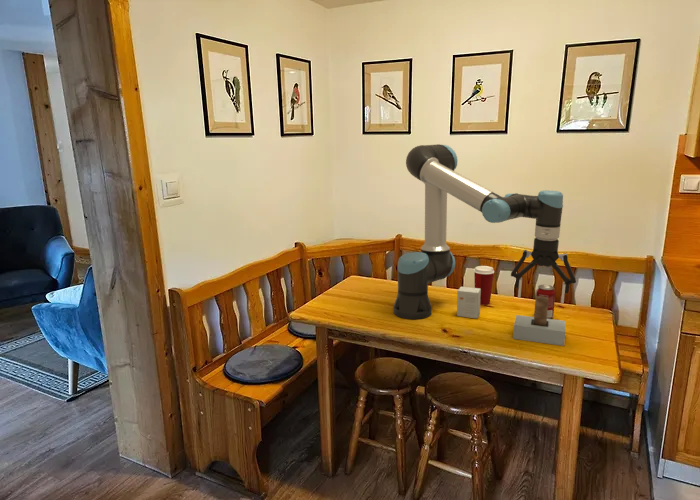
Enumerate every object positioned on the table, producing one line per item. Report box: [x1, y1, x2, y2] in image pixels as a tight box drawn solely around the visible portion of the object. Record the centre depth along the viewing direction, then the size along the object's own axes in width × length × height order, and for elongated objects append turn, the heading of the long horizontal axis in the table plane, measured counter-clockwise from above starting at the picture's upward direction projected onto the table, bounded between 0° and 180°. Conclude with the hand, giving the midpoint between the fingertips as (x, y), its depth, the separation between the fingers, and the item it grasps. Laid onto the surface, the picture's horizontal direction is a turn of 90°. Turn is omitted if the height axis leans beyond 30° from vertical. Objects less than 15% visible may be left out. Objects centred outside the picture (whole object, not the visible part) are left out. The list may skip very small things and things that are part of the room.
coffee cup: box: [472, 265, 495, 306], centre depth 196 cm, size 8×8×15 cm
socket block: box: [512, 314, 566, 347], centre depth 164 cm, size 16×10×5 cm, turn 67°
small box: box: [456, 286, 481, 319], centre depth 184 cm, size 8×6×10 cm
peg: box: [533, 296, 548, 327], centre depth 163 cm, size 4×4×14 cm
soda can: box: [534, 284, 556, 319], centre depth 180 cm, size 7×7×12 cm
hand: (540, 299), depth 162 cm, fingers open, 13 cm apart
